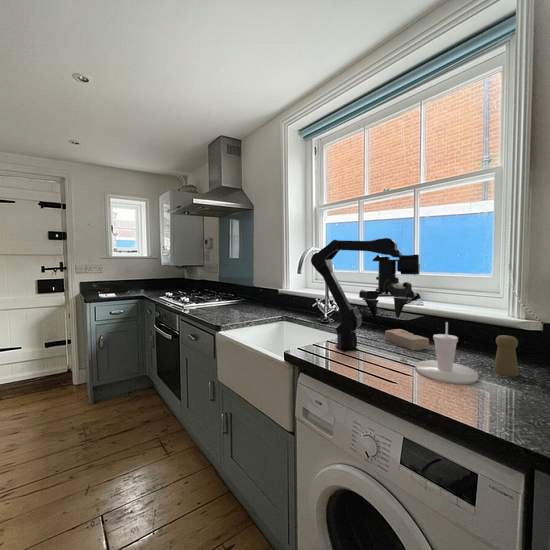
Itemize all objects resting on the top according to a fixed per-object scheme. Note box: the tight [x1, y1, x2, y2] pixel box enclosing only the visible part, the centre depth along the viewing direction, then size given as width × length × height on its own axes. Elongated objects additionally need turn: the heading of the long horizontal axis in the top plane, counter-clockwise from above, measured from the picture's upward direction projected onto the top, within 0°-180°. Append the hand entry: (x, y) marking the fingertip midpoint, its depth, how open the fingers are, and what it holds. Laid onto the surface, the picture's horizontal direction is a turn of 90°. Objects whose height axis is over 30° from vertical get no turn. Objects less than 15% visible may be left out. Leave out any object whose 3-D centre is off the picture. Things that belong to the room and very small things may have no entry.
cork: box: [492, 334, 520, 377], centre depth 87 cm, size 6×6×11 cm
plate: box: [414, 359, 479, 385], centre depth 87 cm, size 16×16×1 cm
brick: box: [384, 328, 430, 351], centre depth 118 cm, size 16×8×5 cm, turn 16°
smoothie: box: [432, 321, 459, 371], centre depth 86 cm, size 6×6×14 cm
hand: (386, 318), depth 104 cm, fingers open, 9 cm apart
